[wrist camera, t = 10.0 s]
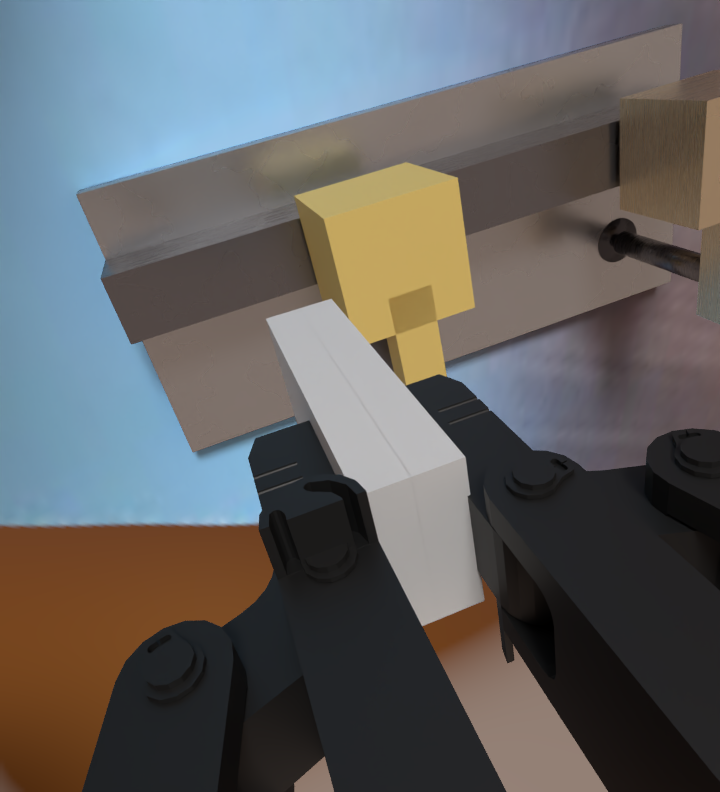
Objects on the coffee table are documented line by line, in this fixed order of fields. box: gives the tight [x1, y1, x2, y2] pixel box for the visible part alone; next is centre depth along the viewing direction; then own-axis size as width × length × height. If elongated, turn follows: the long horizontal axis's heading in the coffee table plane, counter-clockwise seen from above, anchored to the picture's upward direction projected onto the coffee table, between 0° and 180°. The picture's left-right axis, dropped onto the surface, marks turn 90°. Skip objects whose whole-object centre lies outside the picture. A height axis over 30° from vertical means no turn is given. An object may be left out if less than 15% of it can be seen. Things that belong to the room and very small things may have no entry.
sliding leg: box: [294, 162, 475, 386], centre depth 21 cm, size 4×8×6 cm, turn 13°
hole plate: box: [76, 24, 720, 452], centre depth 22 cm, size 24×11×8 cm, turn 103°
